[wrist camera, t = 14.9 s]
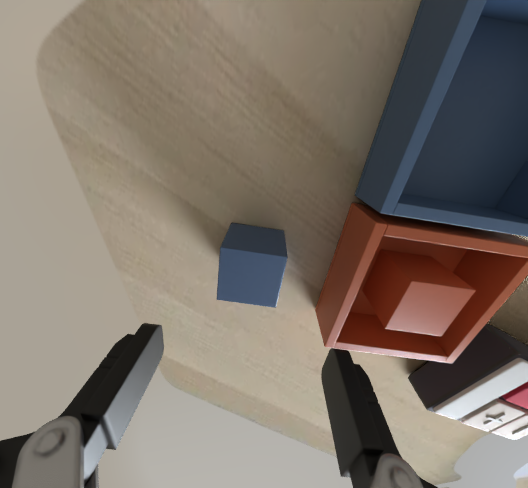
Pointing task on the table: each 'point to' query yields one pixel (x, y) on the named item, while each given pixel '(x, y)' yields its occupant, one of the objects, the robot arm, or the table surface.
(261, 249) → the blue block
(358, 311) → the terracotta bin
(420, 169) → the blue bin
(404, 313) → the terracotta block
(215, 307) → the table surface
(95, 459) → the robot arm
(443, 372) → the calculator
